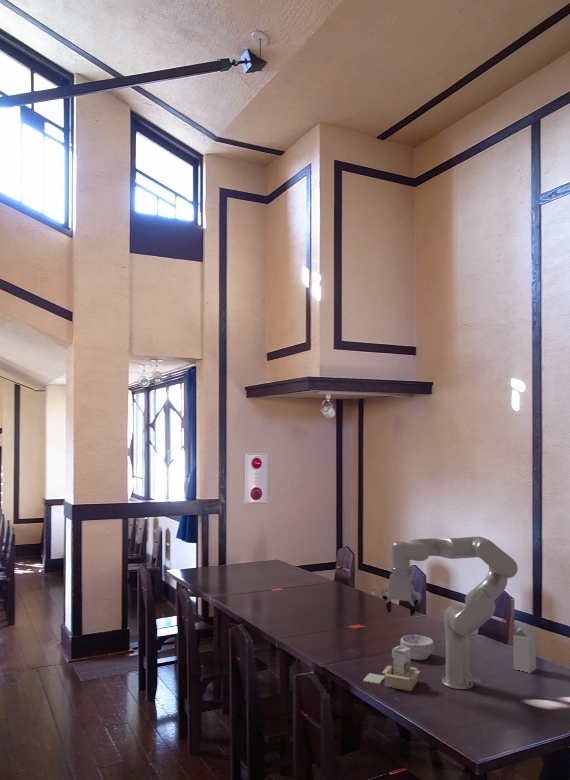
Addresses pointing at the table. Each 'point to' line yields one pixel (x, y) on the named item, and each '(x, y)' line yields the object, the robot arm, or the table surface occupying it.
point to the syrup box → (401, 661)
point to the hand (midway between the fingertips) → (400, 613)
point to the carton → (400, 679)
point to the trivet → (374, 678)
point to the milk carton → (524, 650)
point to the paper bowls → (418, 646)
